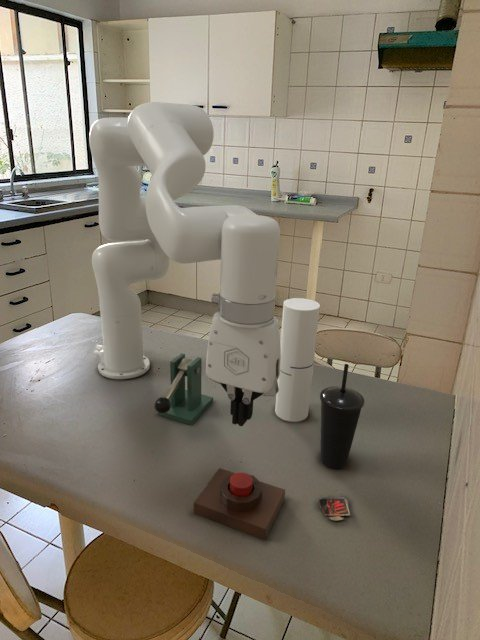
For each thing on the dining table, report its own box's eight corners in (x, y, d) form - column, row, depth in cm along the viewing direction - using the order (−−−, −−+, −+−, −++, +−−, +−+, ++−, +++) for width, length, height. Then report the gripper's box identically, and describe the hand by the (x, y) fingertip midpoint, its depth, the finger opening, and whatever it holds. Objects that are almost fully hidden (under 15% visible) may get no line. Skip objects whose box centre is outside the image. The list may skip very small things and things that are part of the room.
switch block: (193, 513, 73) (193, 493, 71) (219, 477, 80) (219, 459, 79) (265, 540, 68) (266, 519, 67) (284, 500, 76) (286, 480, 75)
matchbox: (315, 501, 76) (315, 498, 76) (343, 496, 77) (344, 493, 77) (327, 522, 72) (328, 520, 72) (357, 517, 73) (357, 514, 73)
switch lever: (167, 418, 90) (163, 409, 88) (153, 414, 91) (149, 405, 89) (197, 369, 98) (194, 359, 96) (184, 365, 99) (180, 355, 97)
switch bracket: (191, 425, 95) (190, 374, 90) (157, 415, 97) (156, 365, 93) (213, 401, 103) (214, 354, 99) (182, 393, 106) (181, 346, 102)
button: (225, 492, 72) (226, 483, 71) (235, 478, 75) (235, 469, 75) (247, 500, 71) (247, 491, 70) (255, 485, 74) (256, 476, 73)
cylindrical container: (306, 423, 96) (319, 312, 87) (273, 418, 98) (281, 308, 88) (309, 405, 103) (320, 300, 94) (277, 401, 104) (285, 296, 95)
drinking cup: (327, 479, 81) (340, 379, 74) (304, 453, 88) (315, 358, 80) (363, 468, 84) (379, 371, 77) (338, 444, 90) (351, 352, 83)
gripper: (185, 306, 63) (185, 420, 70) (290, 328, 57) (279, 448, 64) (211, 290, 69) (208, 396, 76) (307, 309, 64) (295, 421, 71)
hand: (241, 420), depth 70 cm, fingers closed
